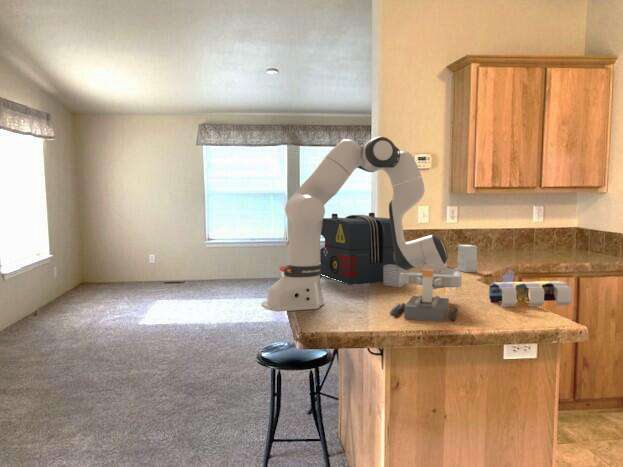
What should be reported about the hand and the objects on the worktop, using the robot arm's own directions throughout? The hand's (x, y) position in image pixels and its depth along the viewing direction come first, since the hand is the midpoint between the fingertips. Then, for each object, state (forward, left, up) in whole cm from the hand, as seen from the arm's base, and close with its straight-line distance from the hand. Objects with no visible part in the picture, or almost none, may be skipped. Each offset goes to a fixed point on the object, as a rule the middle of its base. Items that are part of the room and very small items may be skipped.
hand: (427, 282), depth 157 cm
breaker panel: (+1, +1, -11) cm, 11 cm away
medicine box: (+22, +46, -11) cm, 52 cm away
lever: (+1, +1, -6) cm, 6 cm away
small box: (+78, +59, -11) cm, 98 cm away
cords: (0, +2, -10) cm, 11 cm away
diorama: (+42, -5, -11) cm, 44 cm away
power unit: (+20, +69, -11) cm, 72 cm away
